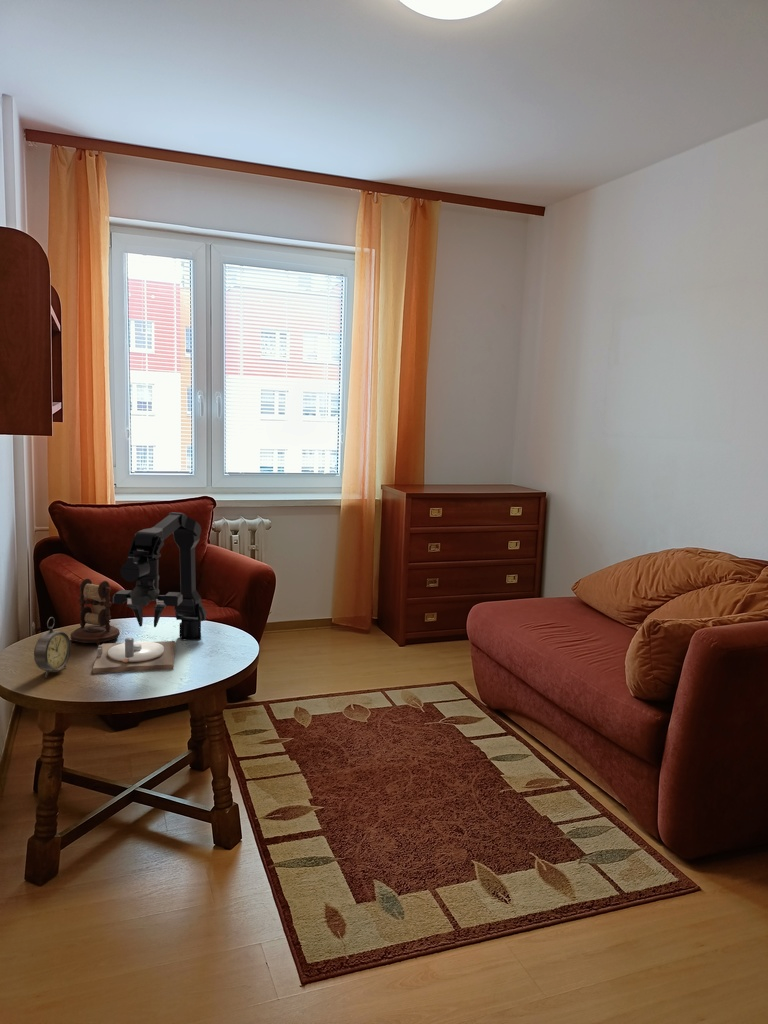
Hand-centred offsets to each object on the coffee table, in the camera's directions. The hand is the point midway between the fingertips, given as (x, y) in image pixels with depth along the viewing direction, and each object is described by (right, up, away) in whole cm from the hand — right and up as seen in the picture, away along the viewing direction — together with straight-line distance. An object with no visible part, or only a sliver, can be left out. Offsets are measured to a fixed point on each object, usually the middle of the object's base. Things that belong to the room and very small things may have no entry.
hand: (148, 626), depth 210 cm
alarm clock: (-25, -12, -7) cm, 29 cm away
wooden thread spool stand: (-25, -8, +23) cm, 35 cm away
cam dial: (-6, -9, +7) cm, 13 cm away
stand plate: (-6, -11, +8) cm, 14 cm away
